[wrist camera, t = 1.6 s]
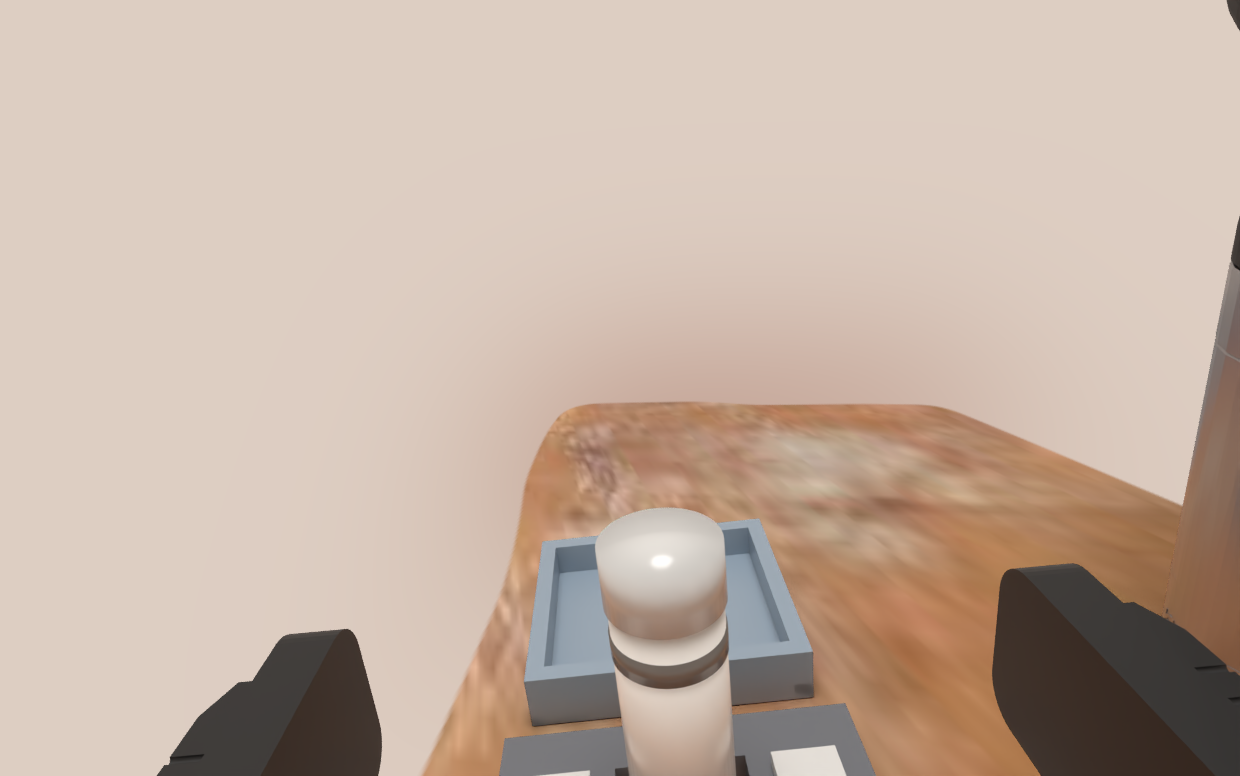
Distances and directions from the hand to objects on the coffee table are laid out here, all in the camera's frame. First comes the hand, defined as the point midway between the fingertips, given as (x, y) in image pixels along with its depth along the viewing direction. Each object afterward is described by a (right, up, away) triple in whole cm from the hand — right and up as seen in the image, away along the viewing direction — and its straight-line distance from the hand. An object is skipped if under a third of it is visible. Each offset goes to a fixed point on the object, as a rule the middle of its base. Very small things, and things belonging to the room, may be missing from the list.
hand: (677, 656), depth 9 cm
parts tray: (+1, -9, +28) cm, 29 cm away
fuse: (+2, -13, +17) cm, 21 cm away
